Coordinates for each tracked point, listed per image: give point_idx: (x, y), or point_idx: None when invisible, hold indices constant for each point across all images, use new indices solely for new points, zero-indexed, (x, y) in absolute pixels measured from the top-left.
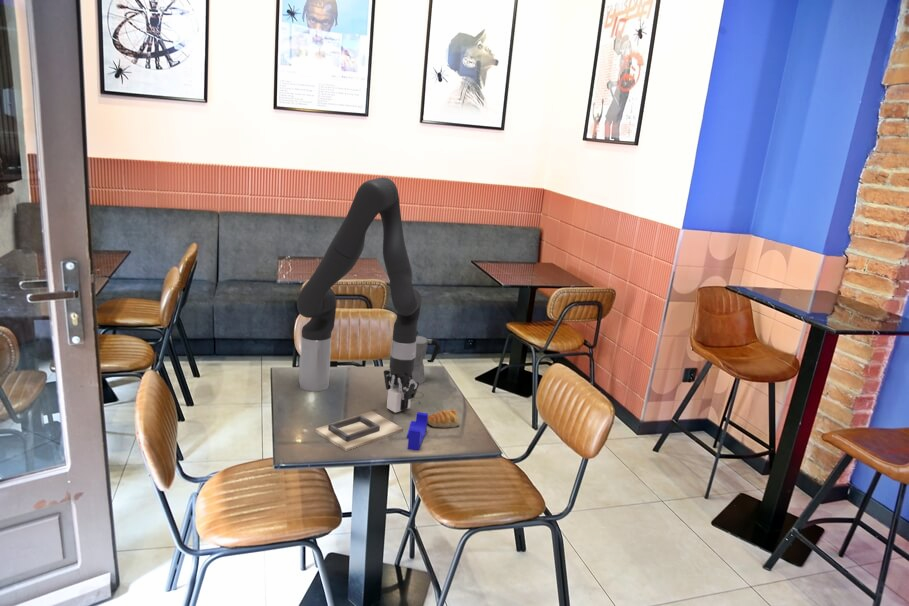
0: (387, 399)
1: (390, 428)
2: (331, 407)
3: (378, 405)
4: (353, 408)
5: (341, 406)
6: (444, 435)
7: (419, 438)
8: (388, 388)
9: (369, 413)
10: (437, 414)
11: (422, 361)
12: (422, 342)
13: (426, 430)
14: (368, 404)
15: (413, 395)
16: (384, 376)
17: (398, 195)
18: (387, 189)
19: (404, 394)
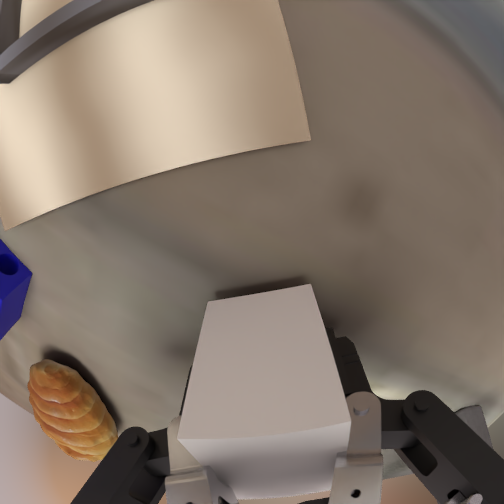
0: (324, 331)
1: (10, 159)
2: (472, 4)
3: (401, 261)
4: (437, 83)
5: (475, 49)
6: (9, 349)
7: None
8: (403, 412)
9: (272, 94)
10: (55, 416)
11: (437, 501)
12: None
13: (15, 321)
14: (443, 209)
15: (141, 474)
16: (501, 462)
17: None
18: None
19: (174, 461)
